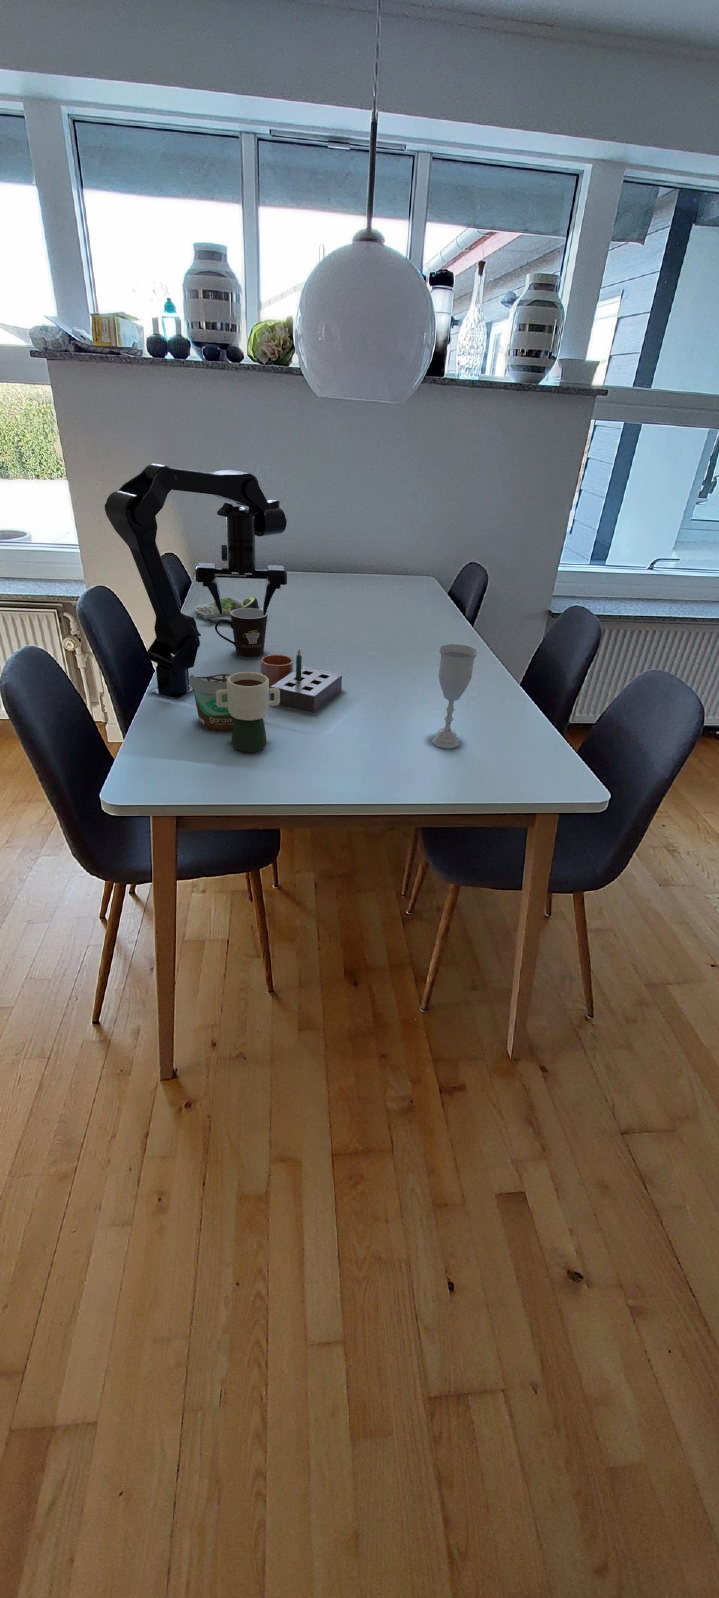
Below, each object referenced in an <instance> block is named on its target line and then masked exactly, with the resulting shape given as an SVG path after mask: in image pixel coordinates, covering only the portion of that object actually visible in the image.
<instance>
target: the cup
mask: <svg viewBox="0 0 719 1598" xmlns="http://www.w3.org/2000/svg"><path fill="white" fill-rule="evenodd" d="M293 671H294V659H293V658H292V657H291V656H288V655H284V654H268V655H264V656H262V657H261V658H260V674H262V675H265V676H266V677H267V678H268V679H269V687H271V686H272V685H274V684H275V683H277V682H278V681H280V680H281V679H283V678H284V677H286V676H287V675H289V674H290V673H292V672H293Z"/></svg>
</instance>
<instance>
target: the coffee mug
mask: <svg viewBox="0 0 719 1598" xmlns="http://www.w3.org/2000/svg"><path fill="white" fill-rule="evenodd" d="M268 614H269V613H268V612H266V615H265V616H264V615H263V610H261V609H255V608H240V609H235V610H233V611H231V612H230V615H231V621H229V620H226V619H222V620H219V621H218V622H215V625H214V630H215V633H216V634H217V635H218V636H219V637H220V638H222V639H223V640H224V641H227V642H229V643H230V644H232V645H233V646H234V648H235V653H236V655H237V656H239V657H243V658H258V657H261V656H263V655H264V651H265V642H266V633H267V624H268V617H269V616H268ZM221 623H227V624H228V625H229V626H230V628H231V629H232V634H233V640H232V639H230V638H228V637H226V636H224V635H223V634H221V633H220V632H219V629H218V626H219V624H221Z"/></svg>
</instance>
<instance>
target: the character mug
mask: <svg viewBox="0 0 719 1598" xmlns="http://www.w3.org/2000/svg"><path fill="white" fill-rule="evenodd" d="M229 675H230V676H229V677H228V679H227V689H219V690H217V691H216V704H217V707H220V708H221V707H228V710H229V712H230V714H231V716H233V717H234V718H235V719H234V722H233V731H231V745H232V747H233V748H234V749H236V750H238V751H241V752H244V753H256V752H258V751H260V750H263V749H264V748H265V747H267V743H268V740H267V732H266V726H265V721H264V718H265V717H266V716H267V715H268V713H269V710H270V707H276V706H280V705H279V703H280V690H279V689H278V688H271V687H270V686H269V679H268V678H267V677H266V676H265V675H262V674H261V672H260V673H259V672H256V671H255V672H254V671H253V672H252V671H241V672H240V671H239V672H235V673H232V674H229ZM271 693H274V700H273V701H271V700H270V694H271ZM222 695H227V699H228V702H222Z"/></svg>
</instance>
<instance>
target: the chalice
mask: <svg viewBox="0 0 719 1598" xmlns="http://www.w3.org/2000/svg"><path fill="white" fill-rule="evenodd" d="M438 651H439V654H440V659H439V668H438V681H439V685H440V689H441V691H442V694H443V697H444V699H445V700H447V701H448V705H447V707H446V708H445V711H446V716H445V717H444V721H445V725H444V727H443V728H439V730H437V731H436V734H435V735H434V737H433V739H432V744H433V745H434V746H436V747H438V748H441V749H442V748H443V749H454V748H457V747H459V744H460V743H459V741H458V736H457V733H456V731H455V730H454V729H452V727H451V724H452V722H453V721H454V718H453V713H454V712H455V708H454V704H455V701H458V700H460V698H461V697H462V696H463V694H464V693H465V691H466V690H467V689H468V686H469V684H470V682H471V680H472V677H473V670H474V663H475V659H476V657H477V656H478V654H479V651H478V649H476V648H475V647H472V646H469V645H465V644H456V643H455V644H453V643H452V644H444V645H442V646H440V647H439V648H438Z"/></svg>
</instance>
